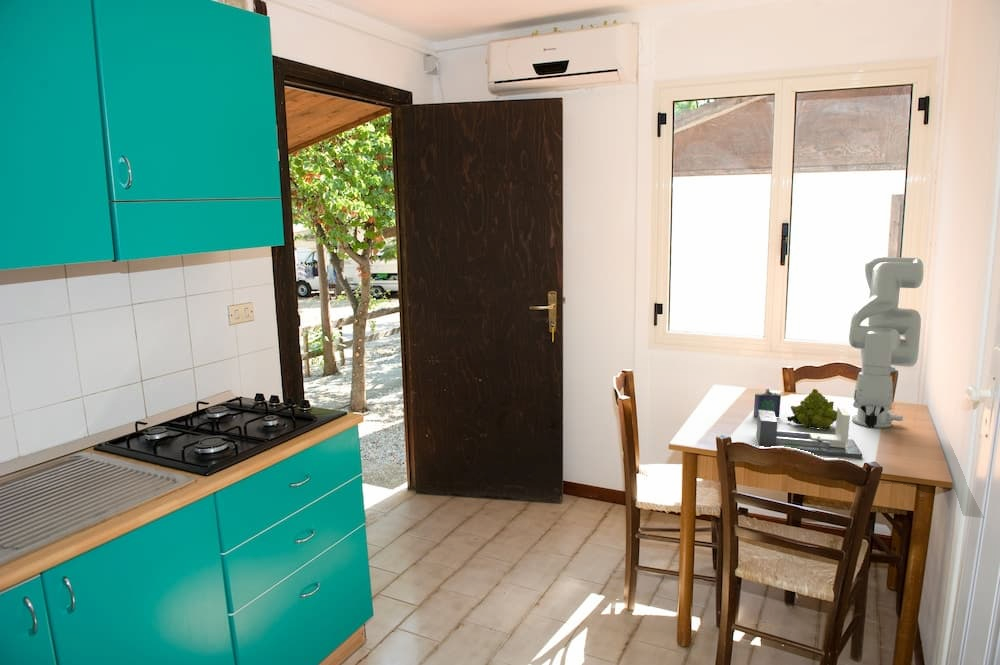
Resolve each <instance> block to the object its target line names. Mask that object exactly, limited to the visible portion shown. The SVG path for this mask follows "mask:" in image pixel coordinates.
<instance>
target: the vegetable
mask: <svg viewBox="0 0 1000 665" xmlns="http://www.w3.org/2000/svg"><path fill="white" fill-rule="evenodd" d="M799 403H800V404H799V405H796V406H795V405H791V406H790V409H791V411H792V415H793V416H791V415H790V416H786V418H787V421H788V422H792V423H794V424H796V425H803V424H804V425H805V426H804V425H803V426H804V428H806V429H810V428H809V427H814V428H813V429H815V428H819V429H818V430H823V429H825V430H824V431H829V430H830V429H831V425H833V423H835V422H836V419H837V410H835V409H834V405H835V404H834V403H835V402H834V401H828V399H827V398H826V396H824V395H823V394H822V393H821V392H819V390H818V389H815V388H813V389H812V390H811V392H810V393H809V394H808V395H807V396H806V397H805V398H803V400H800V402H799Z"/></svg>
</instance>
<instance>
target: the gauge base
mask: <svg viewBox="0 0 1000 665" xmlns="http://www.w3.org/2000/svg"><path fill="white" fill-rule="evenodd" d="M778 422H779V421H778V418H776V416H775V412H774V411H767V410H758V418H757V422H756V435H755V437H756V436H757V437H756V441H757V445H759V446H764V447H771V446H784V447H791V448H797V449H800V450H804V451H808V452H811V453H814V454H817V455H816V456H824V457H825V456H827V457H834V458H835V457H836V458H845V457H847V458H846V459H857V460H863V453H862V451H861V450H860V448H859V446H858V445H857V444H856V441H855V440H854V439H849V438H848V442H847V443H846V448H841V447H830V446H829V443H830V442H829V441H822V442H819V441H818V440H809V434H810V433H811V432H802V431H791V430H779V429H778ZM759 446H758V447H759Z"/></svg>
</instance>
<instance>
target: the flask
mask: <svg viewBox="0 0 1000 665" xmlns="http://www.w3.org/2000/svg"><path fill="white" fill-rule="evenodd" d="M781 397H782V395H781V394H779V393H776V392H771V391H770V389H769V388H767V389H765V392H764V393H763V392H762V393H758V392H757V393H755V394H754V402H753V403H754V405H753V417H754V418H757V417H758V410H767V411H774V412H775V416H776V417H779V418H780V412H781V408H780V407H781Z"/></svg>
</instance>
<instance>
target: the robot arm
mask: <svg viewBox="0 0 1000 665" xmlns="http://www.w3.org/2000/svg"><path fill="white" fill-rule="evenodd" d="M864 270H865V271H864V272H865V278H866V282H867V285H868V288H869V296H868V297H869V299H868V301H865V302H864V303H863V304H862V305H861V306H860V307H859V308H857V310H855V312H854V314H853V316H852V318H851V322H850V327H849V334H848V336H849V337H848V341H849V345H850V347H851V348H854V349H858V350H860V354H861V355H860V356H861V371H860V372H858V374H857V379H856V383H855V388H854V393H853V400H854V402H853V404H852V406H853V407H854V408H856V409H857V414H856V415H853V416H851V417H852V418H851V421H852V422H853V423H855V424H857V425H860V426H863V427H867V428H869V429H870V428H871V429H875V428H876V429H885V428H889V427H890V428H891V427H892V422H893V421H896V422H903V420H904V418H903V415H898V414H896V413H895V414H894V413H890V412H889V411H892V409H893V408H892V404H893V399H894V397H893V396H894V395H893V392H894V390H893V387H894V386H893V376H892V375H891V373H895V372H896V367H905V368H906V367H910V368H911V367H913V366H915V365H916V364H917V362H918V359H919V358H918V357H919V348H920V338H921V337H920V336H921V330H922V329H921V325H922V324H921V323H922V318H921V314H920V312H919V311H917V310H916V309H912V308H900V307H898V306H899V303H900V302H899V301H900V291H901V290H900V288H901V289H903V288H904V289H917V288H919V287H920V286H921V285H922V283H923V280H924V263H923V261H922V260H921V259H920V258H917V257H899V256H898V257H895V256H878V257H876V256H875V257H872V258H869V259H868V260H866V262H865V266H864ZM866 319H868V325H861V324H862V322H863V321H864V320H866ZM901 336H902V337H904V338H901ZM892 366H895V367H892Z"/></svg>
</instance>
